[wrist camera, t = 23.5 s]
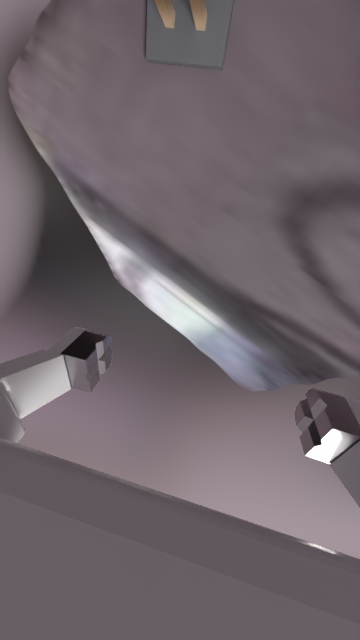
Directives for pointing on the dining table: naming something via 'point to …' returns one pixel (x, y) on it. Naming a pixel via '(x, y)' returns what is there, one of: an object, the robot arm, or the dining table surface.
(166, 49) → the mat
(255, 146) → the dining table surface
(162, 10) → the stool
